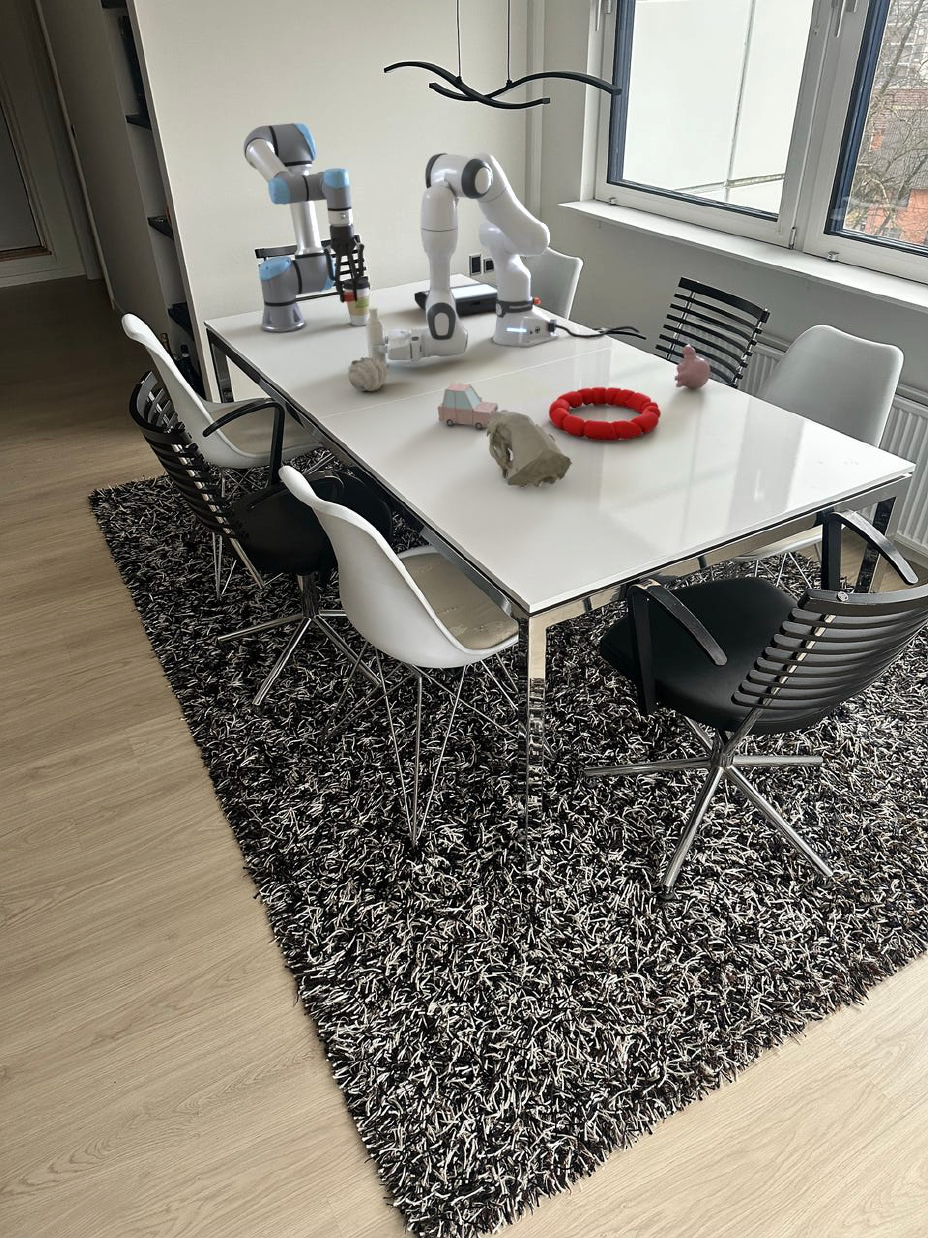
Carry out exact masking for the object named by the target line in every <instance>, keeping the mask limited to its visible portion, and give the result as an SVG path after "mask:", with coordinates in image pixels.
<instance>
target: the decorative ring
mask: <svg viewBox="0 0 928 1238" xmlns="http://www.w3.org/2000/svg"><path fill="white" fill-rule="evenodd" d="M583 405H584V406H586V407H587V406H591V405H593V406H604V405H608V406H614V407H619V408H624V409H628V410H632V411H635V412H636V413H638V414H639V415H637V416H635V417H632V418H631V419H630V420H625V419H624V420H623V419H622V420H614V421H611V422H609V421H607V420H606V421H605V420H593V419H587V420H586V421H585V419H584V418H582V417H579V416H577V415H573V414H571V413H570V410H571V409H579V408H581V407H582V406H583ZM548 416H549V419H550V422H551V423H552V425H553V426H554V427H555V428H556V429H558V430H559V431H561V432H563V433H567V434H568V435H569V436H573V437H576V438H580V439H582V438H583V437H585V438H586V439H587V440H591V441H601V442H602V441H603V442H608V441H609V442H610V441H611V442H612V441H615V442H616V441H618V440H630V439H634V438H638V437H641V436H642V434H647V433H650V432H651V431H653V430H654V429H655V428H656V427H657V426H658V424H659V422H660V421H659V420H660V417H661V410H660V408H659V405H658V403H657V402H656V401H652V399H651V397H649V396H648V395H646V394H644V393H642V392H635V391H634V390H632V389H628V388H624V389H622V388H620V387H613V386H612V387H611V386H610V387H608V388H606V387H604V386H594V387H585V388H584V387H583V388H580V389H578V390H571V391H568V392H565V393H563V394H561V395H560V396H558V397H557V398H556V400H554V401H552V403H551V404H550V407H549V409H548Z"/></svg>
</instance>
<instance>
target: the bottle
mask: <svg viewBox="0 0 928 1238" xmlns="http://www.w3.org/2000/svg"><path fill="white" fill-rule="evenodd" d="M365 329H366V331H365V332H366V340H367V341H366V342H367V352H368V353H367V354H368V358H375V359H376V358H377V359H378V360H379V361H380V362H381V361H383V362H384V364H385V366H386V367H387V366H388V362H387V361H388V360H387V353H382V352H374V351H373V346H374V345H379V346H384V345H386V344H385V324H384V321H383V320H382V319H381V318H380V316H379V308H378V307H377V306H372V307H369V317H368V321H367V322H366V325H365Z"/></svg>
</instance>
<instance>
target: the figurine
mask: <svg viewBox="0 0 928 1238" xmlns="http://www.w3.org/2000/svg"><path fill="white" fill-rule="evenodd" d="M682 354H683V358H684V359H683V361H682V362H679V363H678V364H677V365H676V372H677V375H675V376H674V381H675V382H676V381H677V382H676V384H675V386H676V388H681V387H686V388H688V389H693V390H694V389H695V390H696V389H700V388H703V387H704V386H705V385H706V384H707V383H708V382H709V379H710V377H711V367H710V364H709V362H708V361H706V359H704V358H702V357H700V356H697V353H696V350H695V349H694V347H692V345H690V344H686V345H685V346H684V347H683V348H682Z"/></svg>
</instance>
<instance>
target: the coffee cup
mask: <svg viewBox="0 0 928 1238" xmlns="http://www.w3.org/2000/svg"><path fill="white" fill-rule="evenodd" d="M353 278H354V277H351V278H347V279H345V280H344V281H343V291H344V292H353V290H352V280H351V279H353ZM370 287H371V283H370V282H369V279H367V278H365V277H361V278H359V289H358V290H357V299H358V301H355V300H354V301H351V302H346V305H347V310H348V314H349V318H350V323H351V325H353V326H357V327H359V326H366V322H367V321H368V319H369V317H370V311H369V308H370Z"/></svg>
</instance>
